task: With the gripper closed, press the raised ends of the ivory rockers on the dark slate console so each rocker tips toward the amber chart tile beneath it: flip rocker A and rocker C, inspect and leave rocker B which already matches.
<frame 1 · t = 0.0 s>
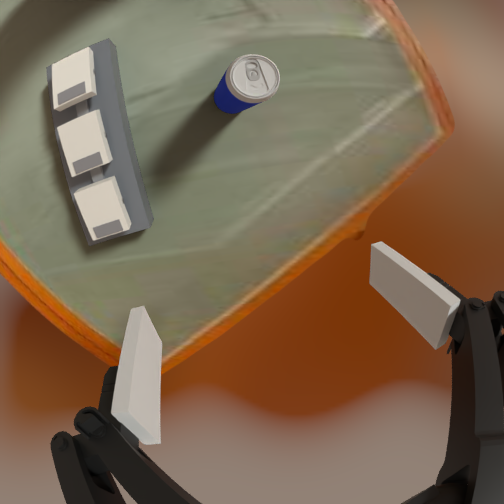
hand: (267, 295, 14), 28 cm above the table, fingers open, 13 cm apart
rocker C: (103, 208, 31), point 6 cm above the table, hinge at 8.0°
switch console: (99, 140, 32), on the table
rocker A: (73, 79, 23), point 6 cm above the table, hinge at -8.0°
beverage can: (231, 97, 34), on the table
rocker B: (84, 142, 27), point 6 cm above the table, hinge at 8.0°
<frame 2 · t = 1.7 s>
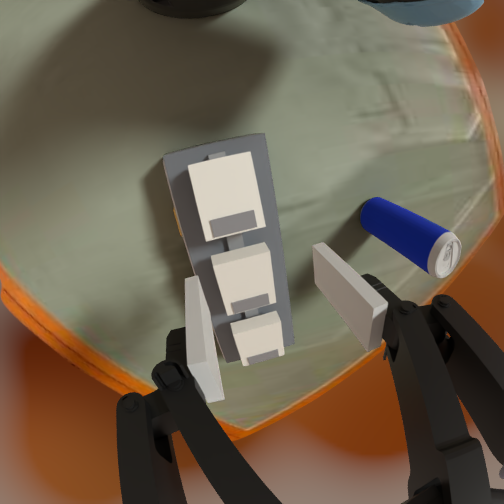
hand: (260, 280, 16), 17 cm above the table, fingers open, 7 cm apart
rocker C: (258, 339, 33), point 6 cm above the table, hinge at 8.0°
switch console: (235, 255, 34), on the table
rocker A: (226, 195, 25), point 6 cm above the table, hinge at -8.0°
beverage can: (371, 213, 36), on the table
rocker B: (245, 279, 29), point 6 cm above the table, hinge at 8.0°
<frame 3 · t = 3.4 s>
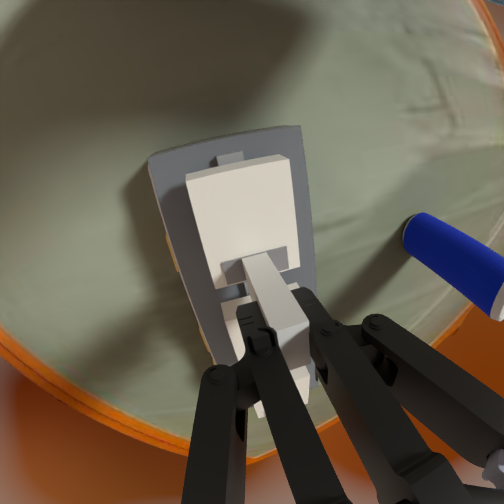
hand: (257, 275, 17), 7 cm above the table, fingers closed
rocker C: (278, 390, 25), point 6 cm above the table, hinge at 8.0°
switch console: (250, 288, 26), on the table
rocker A: (245, 221, 16), point 6 cm above the table, hinge at 3.0°, touching gripper
beverage can: (414, 231, 28), on the table
rocker B: (267, 330, 21), point 6 cm above the table, hinge at 8.0°
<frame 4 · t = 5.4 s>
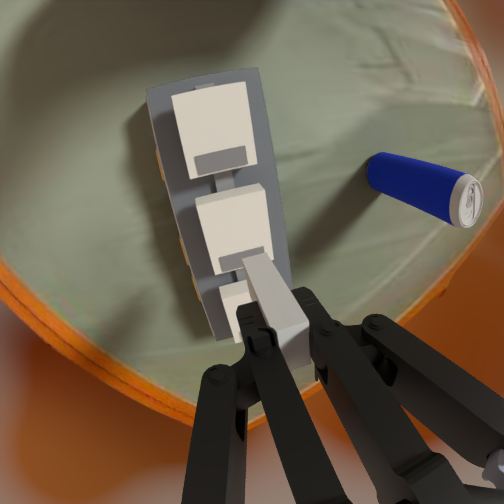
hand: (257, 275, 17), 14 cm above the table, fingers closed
rocker C: (253, 308, 28), point 6 cm above the table, hinge at 8.0°
switch console: (227, 210, 29), on the table
rocker A: (214, 128, 20), point 6 cm above the table, hinge at 9.9°, touching switch console
beverage can: (378, 170, 31), on the table
rocker B: (235, 229, 24), point 6 cm above the table, hinge at 8.0°
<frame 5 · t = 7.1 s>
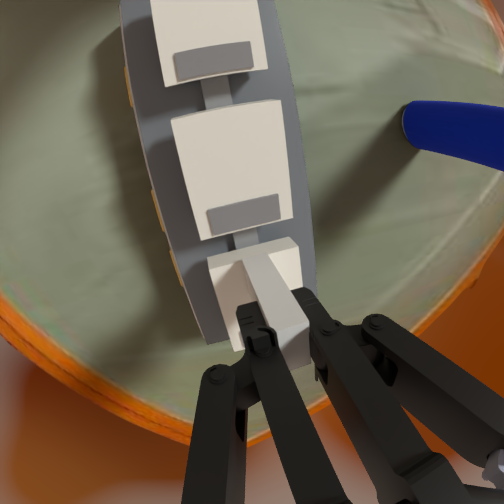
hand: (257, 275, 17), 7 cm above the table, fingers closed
rocker C: (260, 296, 19), point 6 cm above the table, hinge at -1.5°, touching gripper
switch console: (222, 156, 20), on the table
rocker A: (206, 23, 11), point 6 cm above the table, hinge at 9.9°, touching switch console
beverage can: (414, 124, 22), on the table
rocker B: (234, 167, 15), point 6 cm above the table, hinge at 8.0°
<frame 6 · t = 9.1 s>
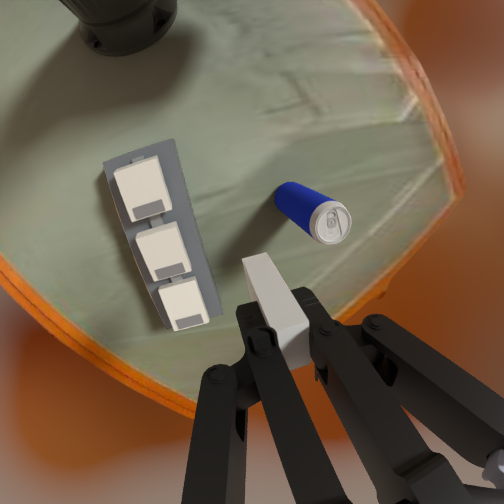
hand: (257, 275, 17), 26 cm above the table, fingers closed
rocker C: (184, 303, 39), point 6 cm above the table, hinge at -9.6°
switch console: (167, 236, 41), on the table
rocker A: (143, 188, 32), point 6 cm above the table, hinge at 9.9°, touching switch console
beverage can: (288, 196, 43), on the table
rocker B: (164, 251, 36), point 6 cm above the table, hinge at 8.0°
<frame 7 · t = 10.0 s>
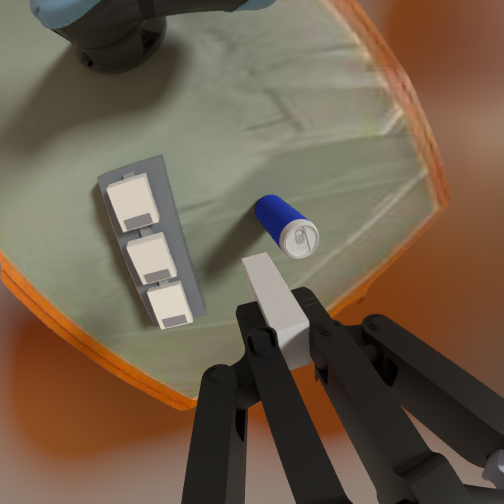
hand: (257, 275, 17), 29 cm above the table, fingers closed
rocker C: (170, 304, 43), point 6 cm above the table, hinge at -9.6°
switch console: (156, 243, 44), on the table
rocker A: (133, 202, 35), point 6 cm above the table, hinge at 9.9°, touching switch console
beverage can: (268, 208, 46), on the table
rocker B: (152, 258, 39), point 6 cm above the table, hinge at 8.0°
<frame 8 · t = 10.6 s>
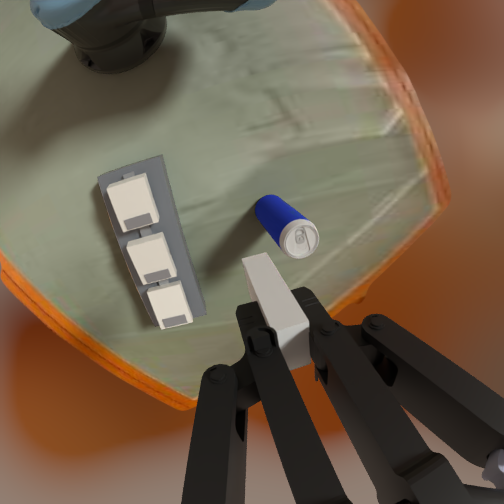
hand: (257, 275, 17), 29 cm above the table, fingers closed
rocker C: (170, 304, 43), point 6 cm above the table, hinge at -9.6°
switch console: (156, 243, 44), on the table
rocker A: (133, 202, 35), point 6 cm above the table, hinge at 9.9°, touching switch console
beverage can: (268, 208, 46), on the table
rocker B: (152, 258, 39), point 6 cm above the table, hinge at 8.0°
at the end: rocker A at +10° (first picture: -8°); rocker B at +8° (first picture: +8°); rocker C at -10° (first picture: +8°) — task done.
